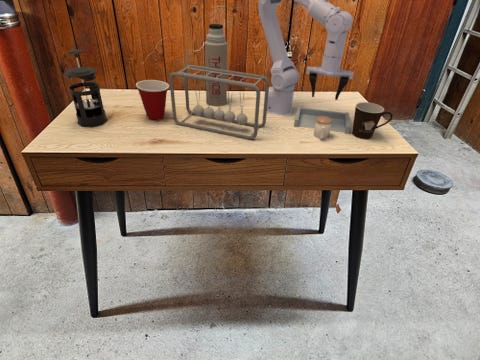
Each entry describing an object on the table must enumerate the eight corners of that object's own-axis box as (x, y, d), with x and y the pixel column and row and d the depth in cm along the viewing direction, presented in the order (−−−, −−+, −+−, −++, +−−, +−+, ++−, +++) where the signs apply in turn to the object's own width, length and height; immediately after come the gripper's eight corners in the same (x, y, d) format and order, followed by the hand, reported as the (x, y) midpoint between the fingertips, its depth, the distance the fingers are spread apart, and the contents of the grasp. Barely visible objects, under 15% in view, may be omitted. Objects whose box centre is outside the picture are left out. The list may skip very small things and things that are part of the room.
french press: (99, 129, 104) (81, 56, 90) (71, 127, 104) (49, 54, 91) (114, 114, 113) (99, 46, 100) (88, 112, 114) (70, 44, 100)
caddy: (293, 127, 110) (294, 119, 108) (296, 113, 120) (297, 105, 118) (348, 134, 107) (350, 126, 105) (347, 119, 117) (348, 111, 115)
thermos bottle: (222, 107, 122) (222, 27, 106) (203, 104, 124) (200, 25, 107) (229, 100, 128) (230, 23, 112) (210, 97, 130) (209, 21, 114)
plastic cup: (174, 122, 110) (170, 88, 103) (141, 125, 107) (136, 90, 100) (170, 110, 118) (167, 77, 111) (140, 112, 116) (135, 79, 109)
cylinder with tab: (312, 141, 102) (315, 123, 99) (313, 131, 108) (316, 114, 104) (328, 143, 101) (332, 125, 98) (328, 134, 107) (332, 116, 103)
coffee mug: (345, 137, 105) (353, 109, 99) (351, 127, 111) (358, 100, 106) (382, 146, 101) (392, 117, 95) (386, 135, 107) (395, 107, 101)
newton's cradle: (265, 128, 109) (270, 76, 99) (256, 141, 101) (260, 86, 91) (187, 112, 117) (184, 63, 107) (172, 124, 109) (167, 71, 99)
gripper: (308, 56, 97) (301, 98, 105) (357, 61, 95) (346, 104, 103) (310, 50, 103) (303, 91, 111) (356, 55, 100) (346, 97, 108)
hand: (324, 97), depth 107 cm, fingers open, 7 cm apart
